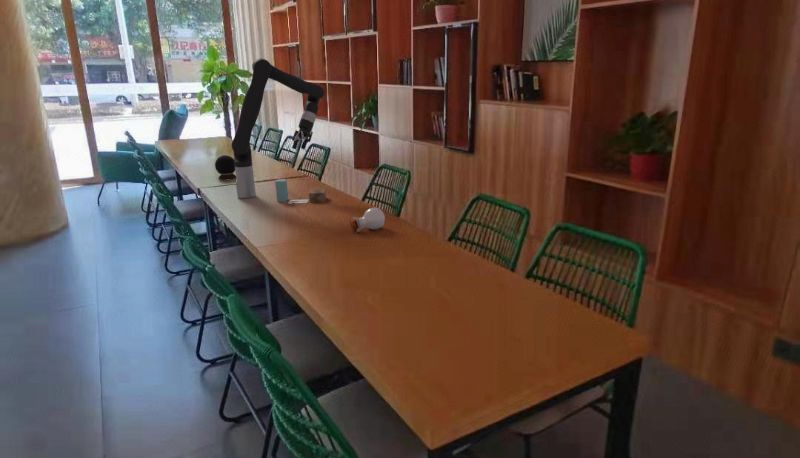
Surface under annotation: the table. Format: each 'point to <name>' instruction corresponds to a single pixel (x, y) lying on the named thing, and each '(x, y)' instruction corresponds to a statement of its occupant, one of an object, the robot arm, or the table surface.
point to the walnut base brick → (317, 195)
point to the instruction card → (298, 201)
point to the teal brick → (281, 190)
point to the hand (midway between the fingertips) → (298, 148)
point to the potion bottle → (368, 220)
